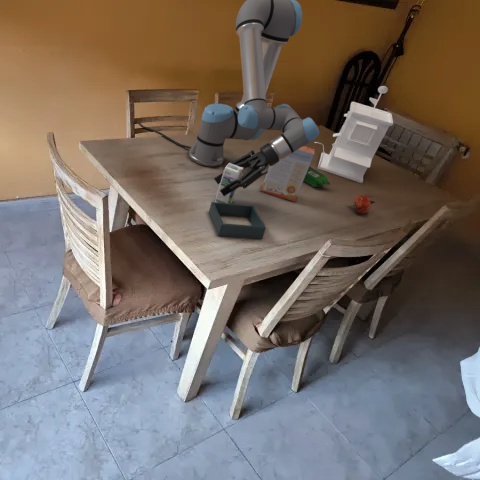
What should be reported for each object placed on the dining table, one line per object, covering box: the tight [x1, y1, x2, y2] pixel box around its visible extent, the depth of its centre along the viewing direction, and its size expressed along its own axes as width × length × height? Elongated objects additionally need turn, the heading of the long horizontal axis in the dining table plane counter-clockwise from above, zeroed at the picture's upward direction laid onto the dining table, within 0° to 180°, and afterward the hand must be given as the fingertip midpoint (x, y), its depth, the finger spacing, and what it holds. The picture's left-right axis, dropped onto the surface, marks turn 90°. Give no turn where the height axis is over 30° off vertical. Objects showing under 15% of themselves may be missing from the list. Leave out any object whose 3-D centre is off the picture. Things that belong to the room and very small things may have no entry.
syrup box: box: [214, 162, 244, 204], centre depth 155 cm, size 6×6×14 cm
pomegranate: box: [348, 194, 376, 214], centre depth 172 cm, size 7×7×10 cm
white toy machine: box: [313, 85, 394, 184], centre depth 197 cm, size 24×28×40 cm
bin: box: [208, 201, 267, 240], centre depth 146 cm, size 16×14×4 cm
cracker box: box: [260, 145, 316, 202], centre depth 167 cm, size 14×6×21 cm, turn 71°
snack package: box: [303, 165, 331, 188], centre depth 187 cm, size 7×16×5 cm, turn 36°
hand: (218, 187), depth 155 cm, fingers closed on syrup box, 8 cm apart
